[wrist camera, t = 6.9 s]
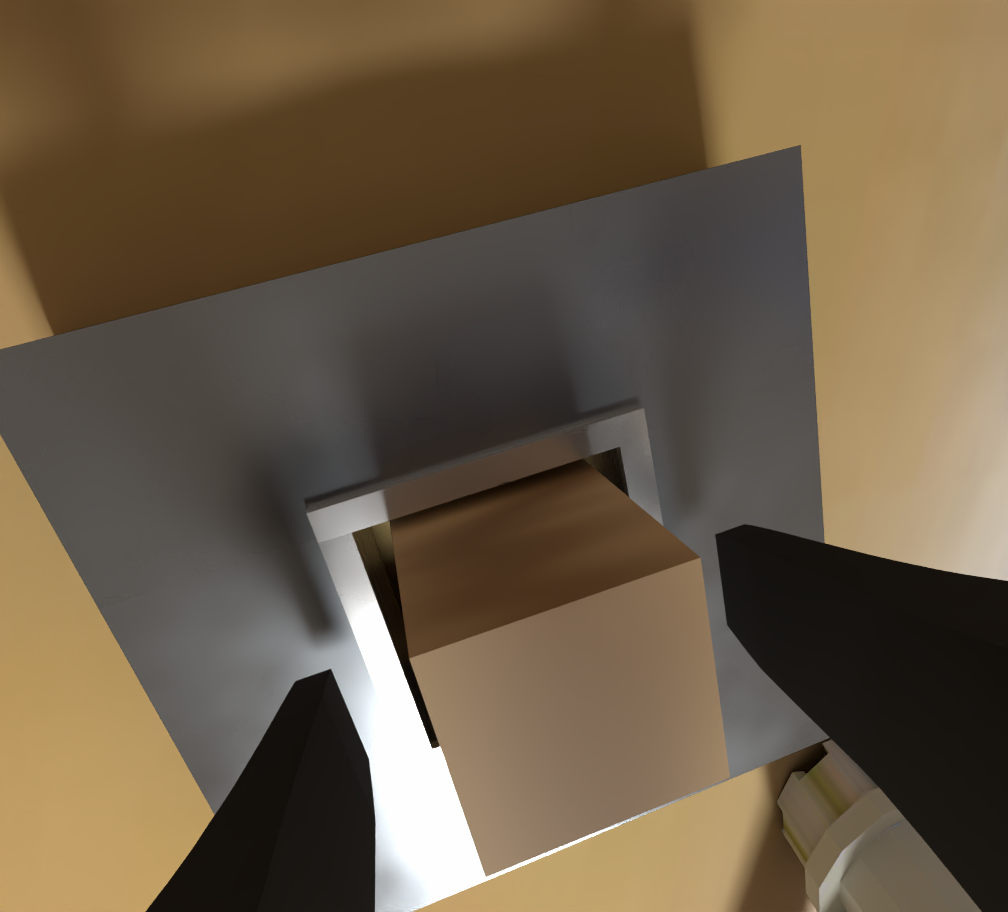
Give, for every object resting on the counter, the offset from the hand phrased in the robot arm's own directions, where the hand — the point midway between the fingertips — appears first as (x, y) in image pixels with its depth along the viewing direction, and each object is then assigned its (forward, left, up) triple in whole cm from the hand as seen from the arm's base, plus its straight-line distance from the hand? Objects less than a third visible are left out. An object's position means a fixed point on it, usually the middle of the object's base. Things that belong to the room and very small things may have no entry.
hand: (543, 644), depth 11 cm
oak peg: (0, 0, -5) cm, 5 cm away
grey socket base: (0, 0, -5) cm, 5 cm away
